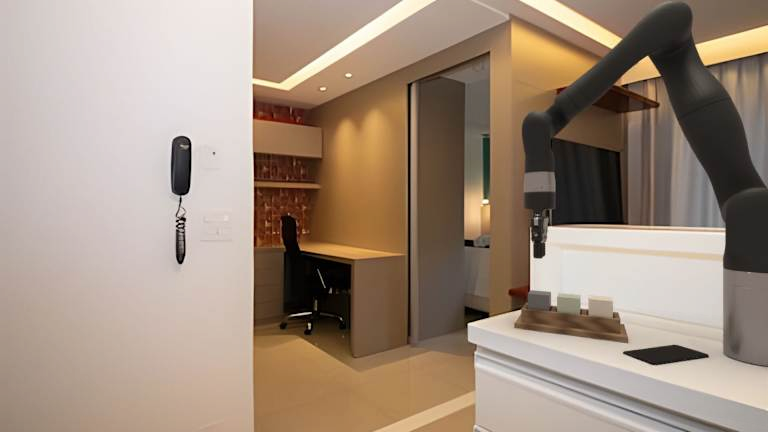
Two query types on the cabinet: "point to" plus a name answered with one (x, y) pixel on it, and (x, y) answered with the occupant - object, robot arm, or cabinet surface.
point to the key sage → (569, 303)
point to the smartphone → (665, 354)
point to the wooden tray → (572, 324)
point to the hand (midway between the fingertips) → (539, 257)
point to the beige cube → (600, 306)
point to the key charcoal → (539, 300)
